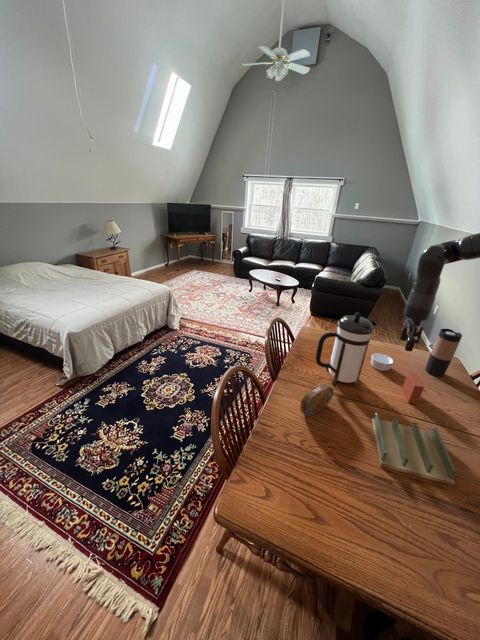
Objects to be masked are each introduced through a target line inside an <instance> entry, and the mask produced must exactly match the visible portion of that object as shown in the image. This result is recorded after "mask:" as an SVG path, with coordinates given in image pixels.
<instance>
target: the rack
mask: <svg viewBox="0 0 480 640" xmlns="http://www.w3.org/2000/svg"><path fill="white" fill-rule="evenodd" d="M371 423H372V428H373V434H374V435H373V436H374V440H375V444H376V450H377V456H378V461H379V466H380V467H384V468H387V469H390V470H394V471H398V472H401V473H404V474H409V475H411V476H416V477H419V478H423V479H426V480H430V481H434V482H436V483H437V482H438V483H441V484H444V485H449V486H451V487H452V486H454V485H455V484H456V483H455V479H454V477H455V476H456V474H457V469H456V467H455V465H454V463H453V460H452V458H451V457H450V454H449V452H448V450H447V447H446V445H445V443H444V441H443V439H442V437H441V435H440V433H439V430H438V428H437V427H436V426H432V429H431V430H427V429H422V428H420V427H419V425H418V422H416V421H415V422H413V424H412V426H409V425H405V424H401V423H399V422H398V419H397V417H393V418H392V420H391V421H388V420H385V419H384V420H383V419H380V415H379V413H377V412H376V413H375V415H374V417H372V419H371Z"/></svg>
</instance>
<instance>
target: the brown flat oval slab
mask: <svg viewBox="0 0 480 640" xmlns="http://www.w3.org/2000/svg"><path fill="white" fill-rule="evenodd" d="M333 395H334V389H333V387H332V386H329V385H327V384H325V383H323V384H320V385H318V386H317V387H316V388H313V389H311V390H310V391H308V392H307V393H306V394H305V395H304V396H303V397H302V399H301V401H300V406H299V407H300V409H299V410H300V412H301V413H303V414H304V415H305V417H312V416H313V415H315V414H316V413H318V412H319V411H321V410H322V409H324V408H325V407H327V406H328V404H329V403H330V402H331V400H332V397H333Z"/></svg>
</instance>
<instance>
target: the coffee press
mask: <svg viewBox="0 0 480 640" xmlns="http://www.w3.org/2000/svg"><path fill="white" fill-rule="evenodd" d="M372 334H375V331H374V327H373V323H372V322H371V321H370V320H369V319H367V318H365V317H364V316H362V314H361V313H360V312H355V313H354V314H349V315H344V316H342V317H341V318H339V320H338V321H337V329H336V332H333V331H328V332H325V333H323V334H322V335H321V336H320V337H319V339H318V342H317V347H316V353H315V361H316V364H317V365H318V366H319V367H321V368H325V370H326V371H327V372H328V373H329V375H330V376H331V377H332V378H333V380H332V381H331V384H332V385H333V386H336V385H337V384H338V382H341V383H345V384H351V383H354V385H355V387H357V388H358V387H360V386H361V381H360V375H361V373H362V368H363V365H364V361H365V359H366V354H367V351H368V349H369V348H368V347H369V344H370V342H371V337H372ZM328 338H334V343H333V348H332V351H331V356H330V360H329V362H322V360H321V357H322V352H323V346H324V343H325V341H326V340H327V339H328Z"/></svg>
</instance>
